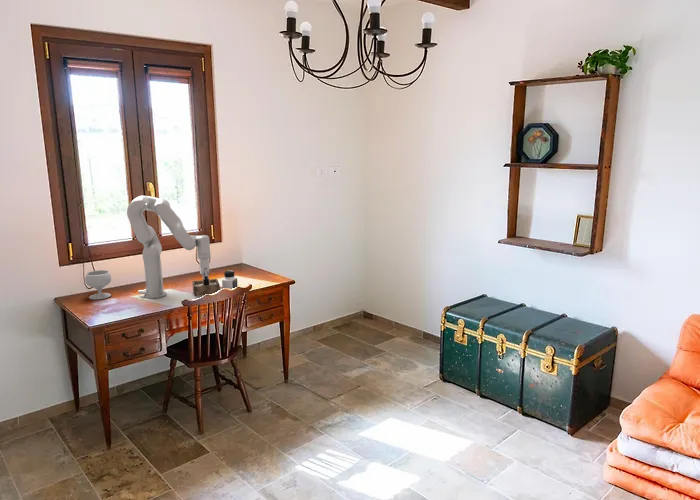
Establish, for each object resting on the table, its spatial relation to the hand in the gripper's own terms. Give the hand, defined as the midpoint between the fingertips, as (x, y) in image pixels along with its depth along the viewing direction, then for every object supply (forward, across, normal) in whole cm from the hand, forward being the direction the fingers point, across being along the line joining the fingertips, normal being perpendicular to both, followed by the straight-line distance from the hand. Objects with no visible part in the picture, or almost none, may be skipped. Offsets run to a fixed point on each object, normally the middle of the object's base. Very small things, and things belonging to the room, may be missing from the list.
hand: (206, 284), depth 311 cm
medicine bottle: (+5, 0, +14) cm, 15 cm away
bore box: (+5, 0, 0) cm, 5 cm away
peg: (+4, 0, 0) cm, 4 cm away
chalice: (+5, -13, -61) cm, 62 cm away
